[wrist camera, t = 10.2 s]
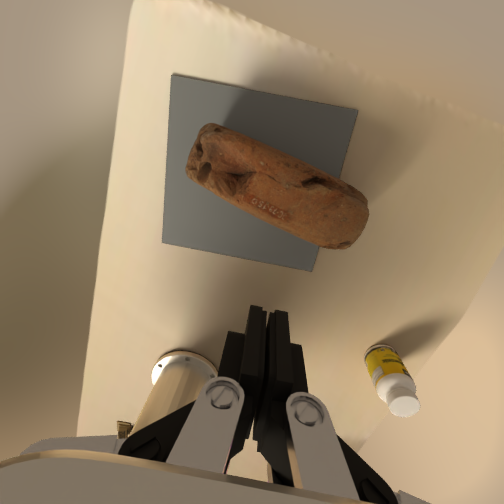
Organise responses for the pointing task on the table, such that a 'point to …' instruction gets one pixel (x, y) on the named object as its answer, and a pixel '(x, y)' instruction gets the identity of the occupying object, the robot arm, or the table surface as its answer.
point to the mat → (259, 128)
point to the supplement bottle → (392, 380)
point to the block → (277, 187)
